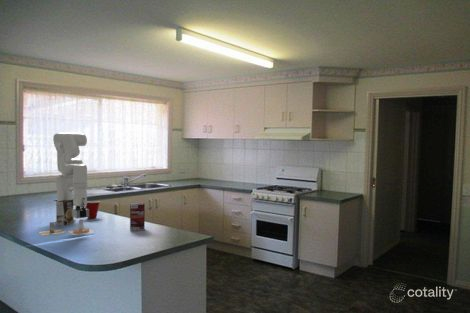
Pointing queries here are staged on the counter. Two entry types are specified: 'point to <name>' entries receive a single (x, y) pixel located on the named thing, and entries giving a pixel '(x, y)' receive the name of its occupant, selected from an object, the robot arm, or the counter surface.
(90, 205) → the plastic cup
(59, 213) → the coffee box
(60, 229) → the rod stand
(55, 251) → the counter surface
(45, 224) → the counter surface
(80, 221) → the hub
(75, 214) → the collar
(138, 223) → the supplement box
